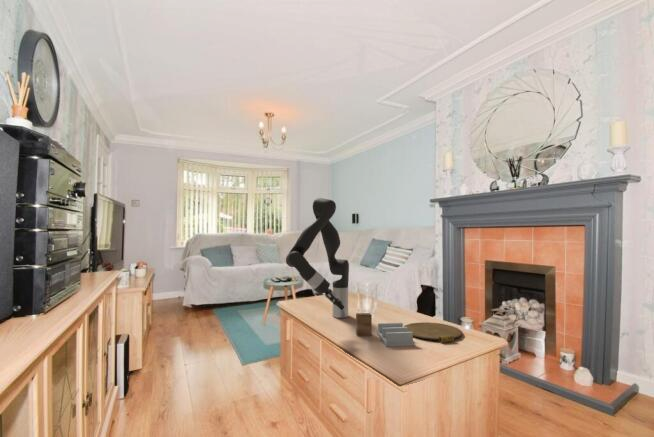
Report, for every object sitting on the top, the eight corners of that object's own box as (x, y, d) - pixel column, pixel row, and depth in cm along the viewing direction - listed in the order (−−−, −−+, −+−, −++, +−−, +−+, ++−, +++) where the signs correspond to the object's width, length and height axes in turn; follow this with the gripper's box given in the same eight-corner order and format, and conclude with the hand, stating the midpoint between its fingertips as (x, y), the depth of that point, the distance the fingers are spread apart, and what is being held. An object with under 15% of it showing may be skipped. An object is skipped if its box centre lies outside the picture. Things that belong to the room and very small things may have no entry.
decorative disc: (439, 318, 175) (478, 333, 146) (439, 324, 175) (478, 340, 146) (392, 322, 167) (424, 339, 138) (392, 328, 167) (424, 346, 138)
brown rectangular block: (356, 333, 154) (356, 313, 155) (369, 333, 155) (369, 312, 155) (357, 336, 151) (357, 315, 151) (371, 335, 152) (371, 314, 152)
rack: (376, 334, 154) (376, 322, 154) (402, 333, 155) (402, 322, 155) (386, 346, 138) (386, 334, 138) (414, 345, 139) (414, 333, 139)
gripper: (325, 279, 145) (349, 304, 146) (322, 275, 159) (344, 297, 160) (313, 291, 144) (338, 316, 145) (312, 285, 158) (334, 308, 159)
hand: (341, 306), depth 152 cm, fingers open, 8 cm apart
